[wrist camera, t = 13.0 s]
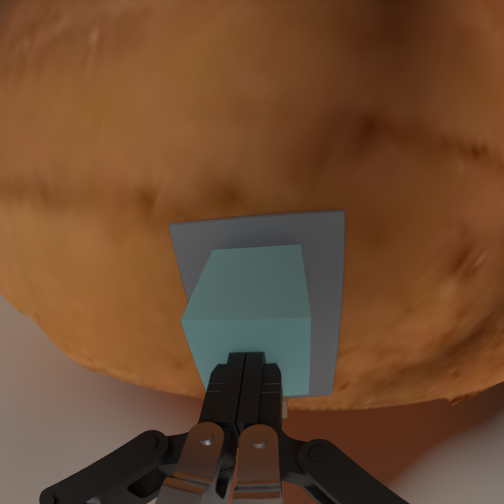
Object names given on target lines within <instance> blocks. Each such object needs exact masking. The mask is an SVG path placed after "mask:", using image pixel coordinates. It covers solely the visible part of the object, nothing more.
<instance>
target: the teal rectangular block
mask: <svg viewBox="0 0 504 504" xmlns="http://www.w3.org/2000/svg"><path fill="white" fill-rule="evenodd" d="M181 323H182V326H183V329H184V332H185V335H186V338H187V341H188V344H189V347H190V350H191V353H192V355H193V358H194V361H195V363H196V366H197V369H198V372H199V374H200V377H201V379H202V382H203V385H204V387H205V390H206V392H207V387H208V384H209V379H210V375H211V372H212V371H213V369H214V368H215V367H216V366H217V364H227V360H228V355H229V353H230V352H265V358H266V364H272V363H276V364H277V365H278V367H279V369H280V371H281V376H282V389H283V396H289V395H308V394H309V374H310V342H311V314H310V306H309V298H308V291H307V284H306V277H305V270H304V263H303V256H302V250H301V244H297V245H282V246H266V247H251V248H236V249H221V250H213V251H212V253H211V255H210V257H209V260H208V262H207V264H206V266H205V268H204V270H203V272H202V274H201V277H200V279H199V281H198V283H197V285H196V287H195V290H194V292H193V294H192V296H191V298H190V300H189V303H188V305H187V307H186V309H185V312H184V314H183V316H182V318H181Z"/></svg>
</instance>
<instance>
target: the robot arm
mask: <svg viewBox="0 0 504 504" xmlns="http://www.w3.org/2000/svg"><path fill="white" fill-rule="evenodd" d="M282 401H283V389H282V376H281V371H280V369H279V367H278V365H277V364H276V363H272V364H266V358H265V352H230V353H229V355H228V360H227V364H217V366H216V367H215V368H214V369H213V371H212V372H211V375H210V379H209V384H208V387H207V392H206V395H205V399H204V403H203V407H202V411H201V414H200V419H199V422H198V423H197V425H195V426H194V427H193V428H192V429H191V430H190V431H189V432H187V433H184V434H179V435H172V436H165V435H164V434H163V433H162V432H160V431H156V430H149V431H145V432H143V433H141V434H140V435H138V436H137V437H135V438H134V439H132V440H131V441H129V442H128V443H126V444H124V445H123V446H121V447H120V448H118V449H116V450H115V451H113V452H112V453H110V454H108V455H107V456H105V457H103V458H101V459H100V460H98V461H96V462H95V463H93V464H91V465H90V466H88V467H86V468H84V469H82V470H81V471H79V472H77V473H75V474H73V475H71V476H70V477H68V478H66V479H64V480H62V481H60V482H58V483H56V484H54V485H52V486H50V487H48V488H46V489H44V490H43V491H42V492H41V494H40V499H39V501H40V504H147V503H148V502H150V501H151V500H153V499H154V498H156V497H157V500H156V503H155V504H228V495H229V491H230V487H231V483H232V479H233V475H234V471H235V466H236V453H237V448H239V451H238V474H237V486H236V488H235V489H234V493H233V504H283V498H282V481H286V482H290V483H293V484H297V485H299V486H300V487H301V488H302V489H303V490H304V491H305V492H306V493H308V495H310V497H312V498H313V499H314V500H315V501H316V502H317V503H318V504H409V503H408V502H406V501H405V500H403V499H402V498H400V497H399V496H398V495H396V494H395V493H394V492H392V491H391V490H390V489H388V488H387V487H386V486H384V485H383V484H382V483H380V482H379V481H378V480H376V479H375V478H374V477H373V476H371V475H370V474H369V473H368V472H366V471H365V470H364V469H362V468H361V467H360V466H359V465H357V464H356V463H355V462H354V461H353V460H351V459H350V458H349V457H348V456H347V455H345V454H344V453H343V452H342V451H341V450H340V449H338V448H337V447H336V446H335V445H334V444H332V443H331V442H329V441H327V440H323V439H315V440H311V441H308V442H304V441H300V440H295V439H292V438H290V437H288V436H287V435H286V434H285V433H284V432H283V431H282Z"/></svg>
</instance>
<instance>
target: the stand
mask: <svg viewBox="0 0 504 504" xmlns="http://www.w3.org/2000/svg"><path fill="white" fill-rule="evenodd" d="M169 230H170V235H171V239H172V243H173V247H174V251H175V255H176V259H177V263H178V267H179V270H180V274H181V278H182V282H183V285H184V289H185V292H186V296H187V299H188V303H189V300H190V298H191V296H192V294H193V292H194V290H195V287H196V285H197V283H198V281H199V279H200V277H201V274H202V272H203V270H204V268H205V266H206V264H207V262H208V260H209V257H210V255H211V253H212V251H213V250H221V249H236V248H251V247H266V246H282V245H297V244H301V250H302V256H303V263H304V270H305V277H306V284H307V291H308V298H309V306H310V314H311V342H310V374H309V394H308V395H289V396H283V401H282V418H287V399H288V398H294V397H311V396H323V395H332V389H333V382H334V375H335V368H336V359H337V351H338V342H339V331H340V320H341V308H342V293H343V275H344V246H345V211H344V210H343V209H342V210H325V211H309V212H294V213H280V214H267V215H255V216H243V217H232V218H221V219H211V220H201V221H191V222H181V223H172V224H170V225H169Z"/></svg>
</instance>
